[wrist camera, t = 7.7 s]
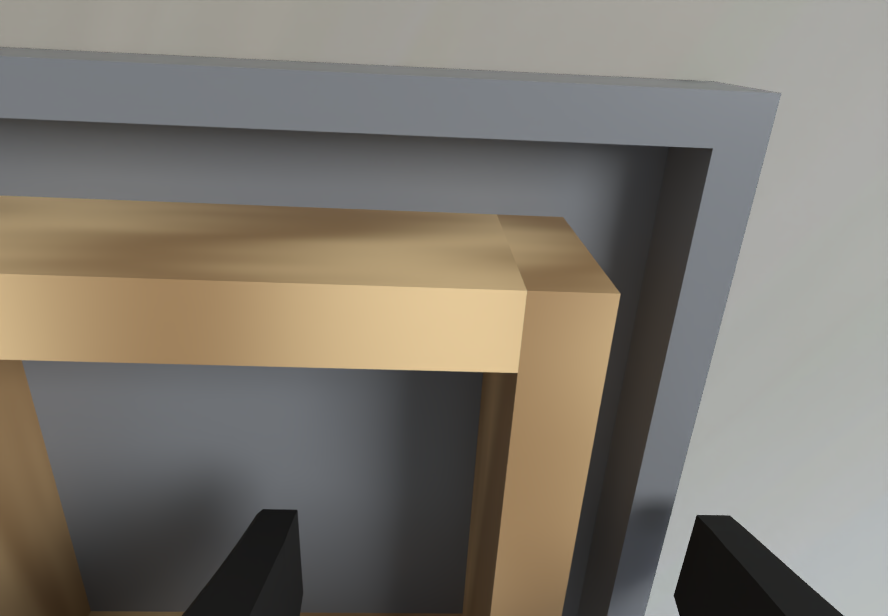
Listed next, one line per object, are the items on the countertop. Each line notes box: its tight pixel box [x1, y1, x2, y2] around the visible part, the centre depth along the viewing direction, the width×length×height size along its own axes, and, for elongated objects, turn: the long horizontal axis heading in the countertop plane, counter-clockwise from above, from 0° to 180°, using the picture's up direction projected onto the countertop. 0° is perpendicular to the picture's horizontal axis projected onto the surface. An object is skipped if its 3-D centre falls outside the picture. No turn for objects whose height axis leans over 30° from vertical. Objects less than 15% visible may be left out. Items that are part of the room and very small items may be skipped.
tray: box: [0, 47, 781, 616], centre depth 13 cm, size 16×16×2 cm
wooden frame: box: [0, 196, 621, 616], centre depth 11 cm, size 11×11×5 cm
